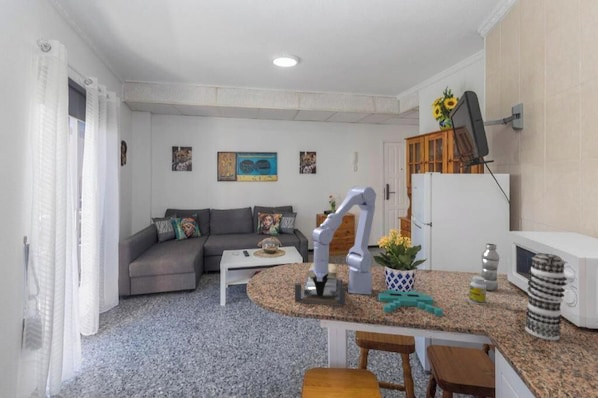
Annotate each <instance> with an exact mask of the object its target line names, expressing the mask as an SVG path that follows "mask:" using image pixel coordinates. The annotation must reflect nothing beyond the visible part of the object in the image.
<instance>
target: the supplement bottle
mask: <svg viewBox="0 0 598 398" xmlns="http://www.w3.org/2000/svg"><path fill="white" fill-rule="evenodd" d="M484 282H485V279H484V278H483V277H481V276H480V275H479V276H478V275H475V276H472V281H471V282H470V284H469V297H468V299H469V302H470V303H473V304H476V305H479V304H480V305H482V304H483V305H485V304H486V297H487V290H486V285H485V284H484ZM480 305H479V306H480Z"/></svg>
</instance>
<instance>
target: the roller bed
mask: <svg viewBox="0 0 598 398" xmlns="http://www.w3.org/2000/svg"><path fill="white" fill-rule="evenodd" d="M305 285H306V286H315V283H314V281H313V277H308V276H306V278H305V280H304V284H303V287H302V283H301V282H296V283H295V285H294V287H295V289H294V302H298V303H303V304H304V303H305V304H317V305H331V306H346V285H345V286H344V285H342V278H338V277H337V278H328V280H327V282H326V284H325V287H331V288H336V299H333V298H321V297H310V296H304V289H305Z"/></svg>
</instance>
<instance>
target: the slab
mask: <svg viewBox="0 0 598 398" xmlns="http://www.w3.org/2000/svg"><path fill="white" fill-rule="evenodd" d="M311 269H314V262H311V263H310V267H309V268H308V277H315V275H314V272H311ZM328 270H329V273H328V276H327V278H338V276H337V275H338V264H337V263H335V264H334V263H329V265H328Z"/></svg>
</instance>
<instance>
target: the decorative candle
mask: <svg viewBox="0 0 598 398" xmlns="http://www.w3.org/2000/svg"><path fill="white" fill-rule="evenodd" d="M530 258H531V259H532V260H531V264H532V265H531V267H530V269H529V270H527V273H528V274H529V275H528V277H527V279H528V281H527V285H528V287H527V290H528V292H527V295H528V296H529V297H528V302H527V307H526V312H525V315H526V316H525V322H524V323H525V327H524V329H525V331H526V332H527V333H529V334H530V335H532V336H534V337H537V338H540V339H544V340H547V341H557V340H559V339H560V338H561V337H560V335H561V329H562V328H561V325H560V324H562V320H561V319H562V314H561V313H562V309H561V306H562V305H561V304H562V303H563V301H564V297H565V295H564V292H566V289H565V288H563V287H564V286H567V283H566V282H565V281H567V280H568V278H567V277H565V271H564V270H565V264H566V261H564V260H563V259H562V257H560V256H559V255H555V254H552V253H545V252H543V253H542V252H540V253H539V252H538V253H536V254H535V255H534V256H531V257H530Z"/></svg>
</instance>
